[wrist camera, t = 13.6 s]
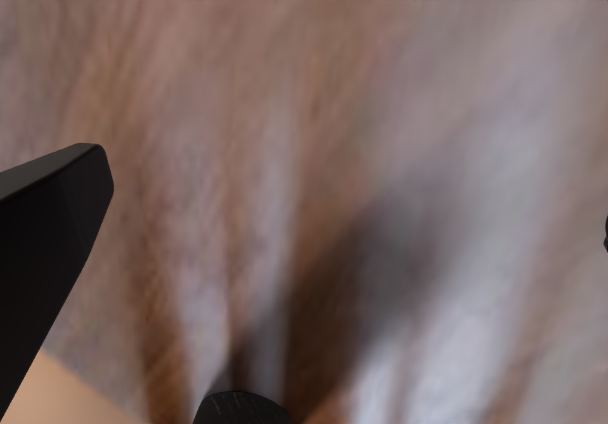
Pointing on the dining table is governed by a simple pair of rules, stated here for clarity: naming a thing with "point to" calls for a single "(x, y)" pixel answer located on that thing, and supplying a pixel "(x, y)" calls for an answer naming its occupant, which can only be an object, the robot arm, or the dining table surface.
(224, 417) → the travel mug
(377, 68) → the dining table surface
